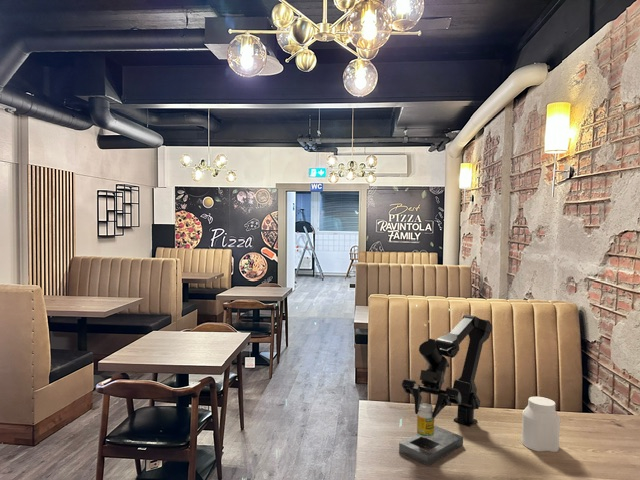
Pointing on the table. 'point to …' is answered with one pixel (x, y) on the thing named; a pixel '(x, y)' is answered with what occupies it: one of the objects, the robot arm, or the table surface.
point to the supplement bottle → (425, 421)
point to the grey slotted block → (431, 446)
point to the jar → (540, 425)
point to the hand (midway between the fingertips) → (424, 415)
